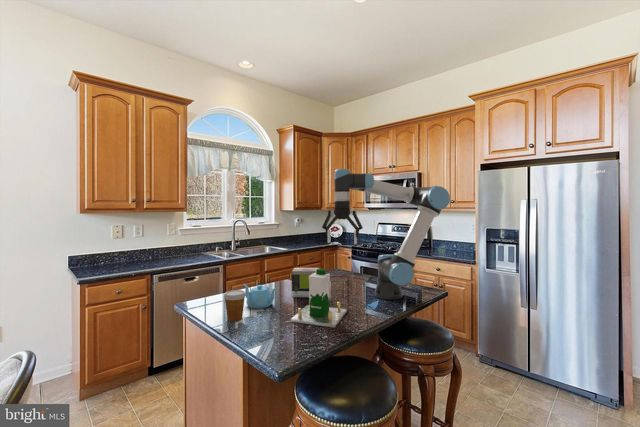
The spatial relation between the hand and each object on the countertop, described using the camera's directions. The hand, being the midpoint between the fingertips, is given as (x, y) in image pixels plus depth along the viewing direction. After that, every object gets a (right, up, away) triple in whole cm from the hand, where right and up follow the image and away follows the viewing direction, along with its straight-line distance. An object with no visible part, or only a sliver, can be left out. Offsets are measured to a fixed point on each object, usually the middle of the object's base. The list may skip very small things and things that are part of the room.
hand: (342, 243), depth 158 cm
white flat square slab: (-11, -32, -13) cm, 36 cm away
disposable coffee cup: (-49, -33, -16) cm, 61 cm away
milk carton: (-11, -31, -13) cm, 36 cm away
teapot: (-42, -32, +2) cm, 53 cm away
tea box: (-19, -31, +20) cm, 42 cm away
